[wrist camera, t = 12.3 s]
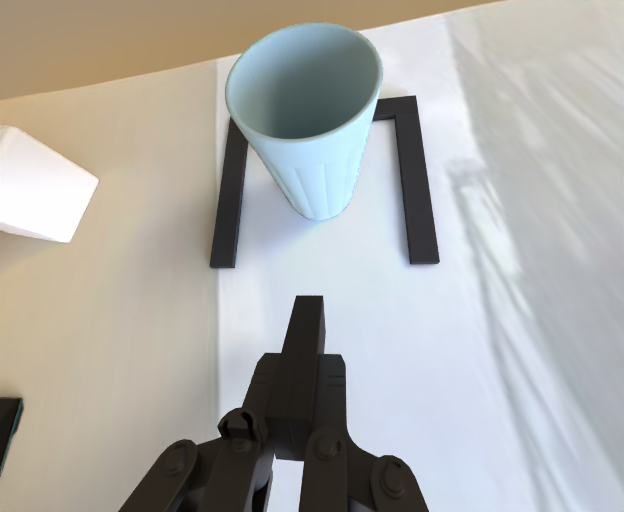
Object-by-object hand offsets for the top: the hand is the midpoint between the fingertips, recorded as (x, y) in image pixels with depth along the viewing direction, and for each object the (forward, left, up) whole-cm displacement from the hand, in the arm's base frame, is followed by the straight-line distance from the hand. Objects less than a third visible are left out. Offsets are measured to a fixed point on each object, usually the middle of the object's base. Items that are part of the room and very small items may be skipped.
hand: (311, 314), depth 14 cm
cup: (-5, -9, -5) cm, 12 cm away
